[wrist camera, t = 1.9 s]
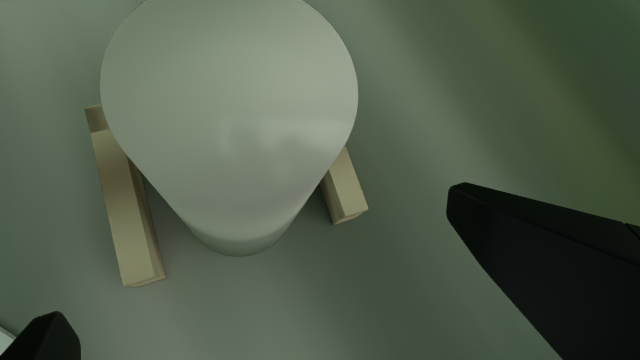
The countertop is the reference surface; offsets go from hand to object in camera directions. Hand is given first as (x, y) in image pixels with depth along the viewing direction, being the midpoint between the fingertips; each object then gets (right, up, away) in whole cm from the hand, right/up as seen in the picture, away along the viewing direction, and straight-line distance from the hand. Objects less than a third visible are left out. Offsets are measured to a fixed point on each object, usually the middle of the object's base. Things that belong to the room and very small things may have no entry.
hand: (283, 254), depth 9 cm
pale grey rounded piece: (-4, +2, +11) cm, 12 cm away
